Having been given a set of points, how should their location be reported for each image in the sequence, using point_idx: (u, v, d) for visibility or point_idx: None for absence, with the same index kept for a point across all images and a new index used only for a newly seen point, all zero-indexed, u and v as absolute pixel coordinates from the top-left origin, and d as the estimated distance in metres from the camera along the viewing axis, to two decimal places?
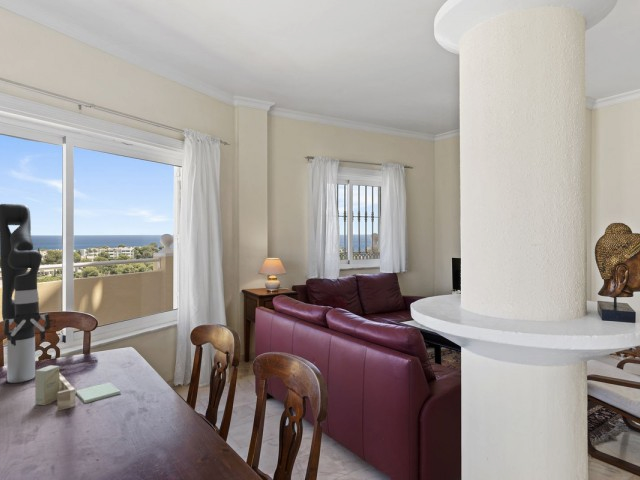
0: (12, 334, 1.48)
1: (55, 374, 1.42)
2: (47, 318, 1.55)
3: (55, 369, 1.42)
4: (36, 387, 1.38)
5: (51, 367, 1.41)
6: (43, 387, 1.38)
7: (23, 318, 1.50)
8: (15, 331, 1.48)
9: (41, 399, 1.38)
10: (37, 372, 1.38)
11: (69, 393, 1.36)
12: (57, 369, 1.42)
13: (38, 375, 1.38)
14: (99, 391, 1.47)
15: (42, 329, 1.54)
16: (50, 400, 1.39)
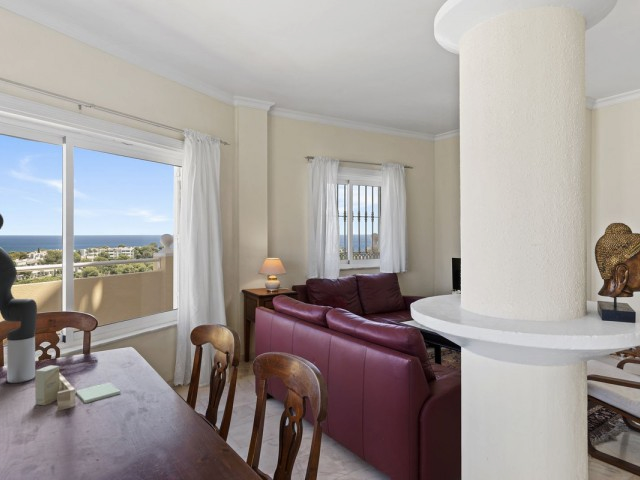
0: None
1: (55, 374, 1.41)
2: None
3: (55, 369, 1.41)
4: (36, 387, 1.38)
5: (51, 367, 1.41)
6: (43, 387, 1.38)
7: None
8: None
9: (41, 399, 1.38)
10: (37, 372, 1.38)
11: (69, 393, 1.36)
12: (57, 369, 1.42)
13: (38, 375, 1.38)
14: (99, 391, 1.47)
15: None
16: (50, 400, 1.39)
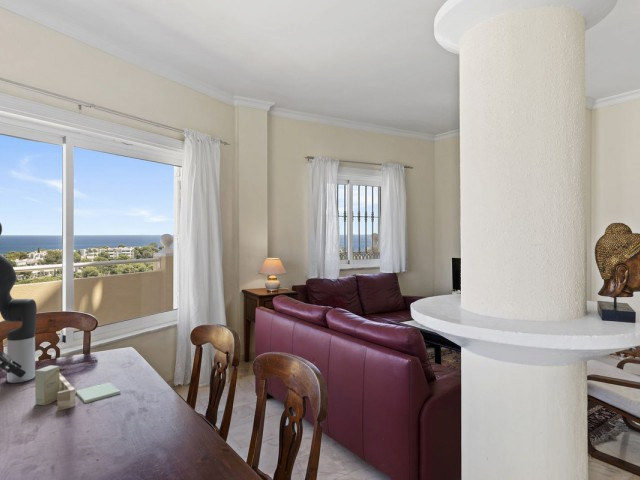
0: None
1: (55, 374, 1.42)
2: None
3: (55, 369, 1.42)
4: (36, 387, 1.38)
5: (51, 367, 1.41)
6: (43, 387, 1.38)
7: None
8: None
9: (41, 399, 1.38)
10: (37, 372, 1.38)
11: (69, 393, 1.36)
12: (57, 369, 1.42)
13: (38, 375, 1.38)
14: (99, 391, 1.47)
15: None
16: (50, 400, 1.39)
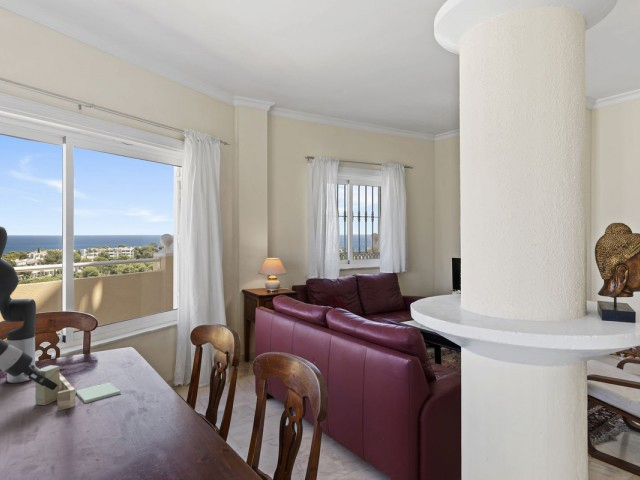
0: None
1: (55, 374, 1.41)
2: None
3: (55, 369, 1.41)
4: (36, 387, 1.38)
5: (51, 367, 1.41)
6: (43, 387, 1.38)
7: None
8: None
9: (41, 399, 1.38)
10: None
11: (69, 393, 1.36)
12: (57, 369, 1.42)
13: None
14: (99, 391, 1.47)
15: None
16: (50, 400, 1.39)
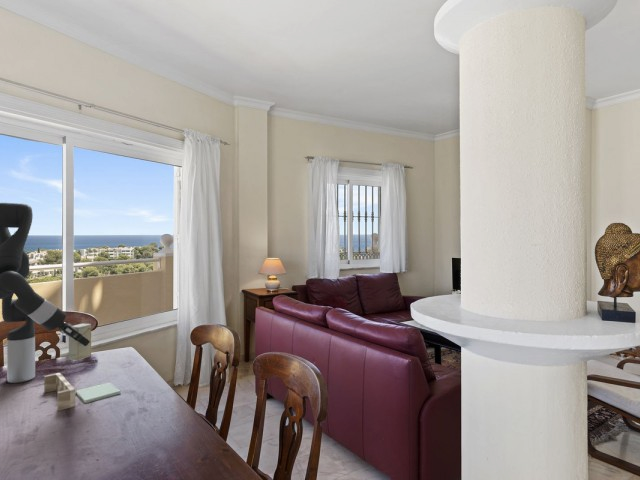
0: None
1: (87, 331, 1.45)
2: (67, 334, 1.36)
3: (87, 326, 1.45)
4: (69, 343, 1.42)
5: (84, 325, 1.45)
6: (76, 343, 1.41)
7: None
8: None
9: (74, 354, 1.41)
10: None
11: (69, 393, 1.36)
12: (89, 327, 1.46)
13: None
14: (99, 391, 1.47)
15: None
16: (82, 356, 1.43)
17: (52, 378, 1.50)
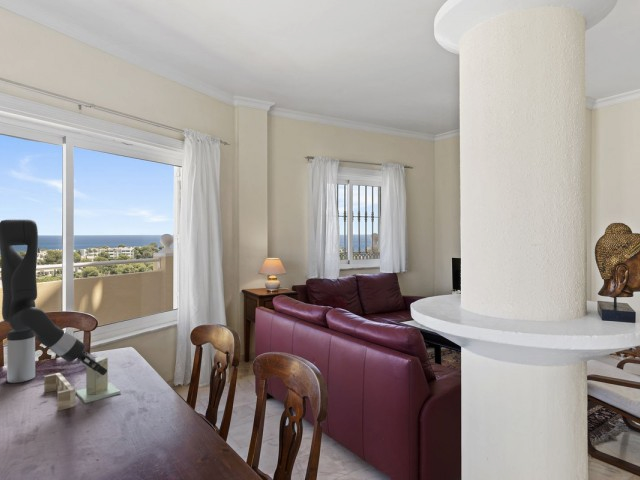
0: None
1: (104, 365, 1.48)
2: (85, 364, 1.39)
3: (104, 360, 1.48)
4: (87, 377, 1.45)
5: (100, 359, 1.48)
6: (94, 377, 1.44)
7: None
8: None
9: (92, 388, 1.44)
10: None
11: (69, 393, 1.36)
12: (106, 360, 1.49)
13: None
14: None
15: None
16: (99, 390, 1.46)
17: (52, 378, 1.50)
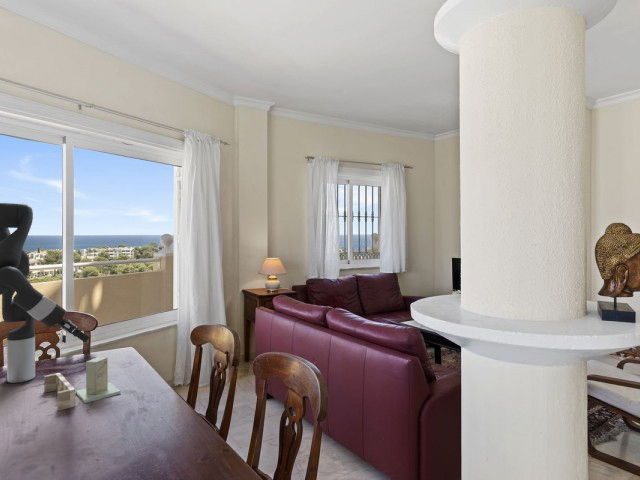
0: None
1: (104, 365, 1.48)
2: (65, 329, 1.35)
3: (104, 360, 1.48)
4: (87, 377, 1.45)
5: (100, 359, 1.48)
6: (94, 377, 1.44)
7: (57, 323, 1.39)
8: None
9: (92, 388, 1.44)
10: (88, 363, 1.45)
11: (69, 393, 1.36)
12: (105, 360, 1.49)
13: (89, 366, 1.45)
14: None
15: None
16: (99, 390, 1.46)
17: (52, 378, 1.50)
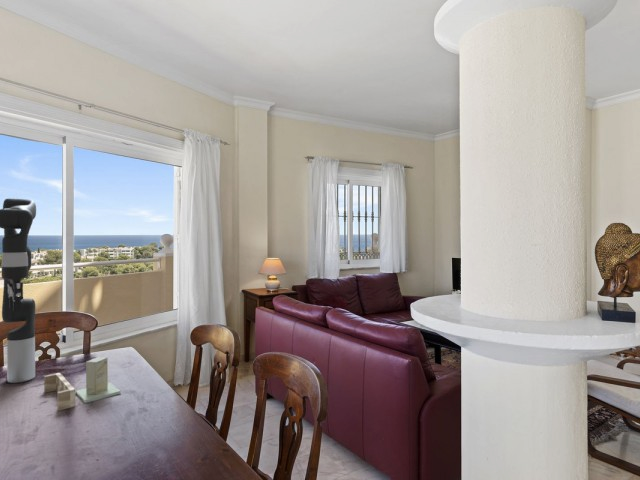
0: (9, 296, 1.43)
1: (104, 365, 1.48)
2: (13, 288, 1.35)
3: (104, 360, 1.48)
4: (87, 377, 1.45)
5: (100, 359, 1.48)
6: (94, 377, 1.44)
7: (10, 282, 1.40)
8: (9, 294, 1.42)
9: (92, 388, 1.44)
10: (88, 363, 1.45)
11: (69, 393, 1.36)
12: (105, 360, 1.49)
13: (89, 366, 1.45)
14: None
15: (13, 299, 1.36)
16: (99, 390, 1.46)
17: (52, 378, 1.50)
